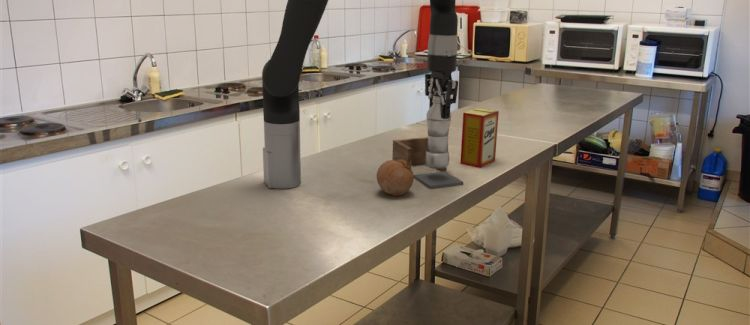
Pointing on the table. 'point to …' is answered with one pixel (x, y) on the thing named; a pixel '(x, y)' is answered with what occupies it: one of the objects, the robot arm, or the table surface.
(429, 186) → the rubber mat
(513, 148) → the table surface
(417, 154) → the walnut rack
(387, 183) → the onion
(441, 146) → the plastic bottle
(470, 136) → the baking soda box
